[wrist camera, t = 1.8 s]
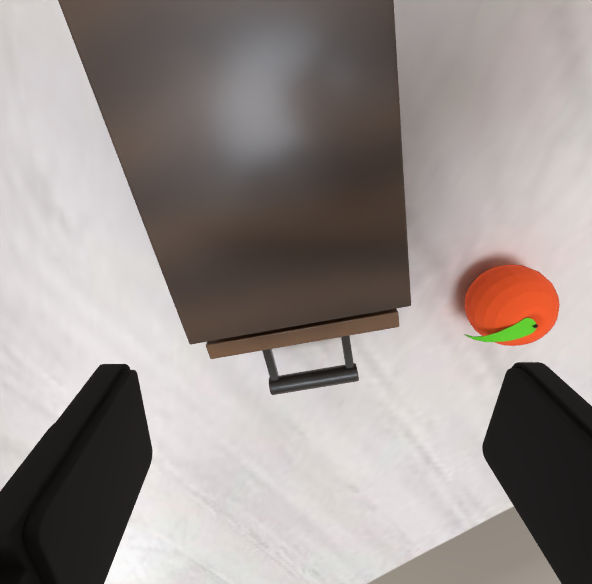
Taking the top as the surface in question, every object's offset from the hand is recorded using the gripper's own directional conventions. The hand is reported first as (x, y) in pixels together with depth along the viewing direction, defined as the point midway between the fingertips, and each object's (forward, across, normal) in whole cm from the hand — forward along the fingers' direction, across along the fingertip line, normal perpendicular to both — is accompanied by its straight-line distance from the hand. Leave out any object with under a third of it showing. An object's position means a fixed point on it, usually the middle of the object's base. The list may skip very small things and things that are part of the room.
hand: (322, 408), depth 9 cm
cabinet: (+23, +2, -4) cm, 24 cm away
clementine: (+23, -18, +7) cm, 30 cm away
